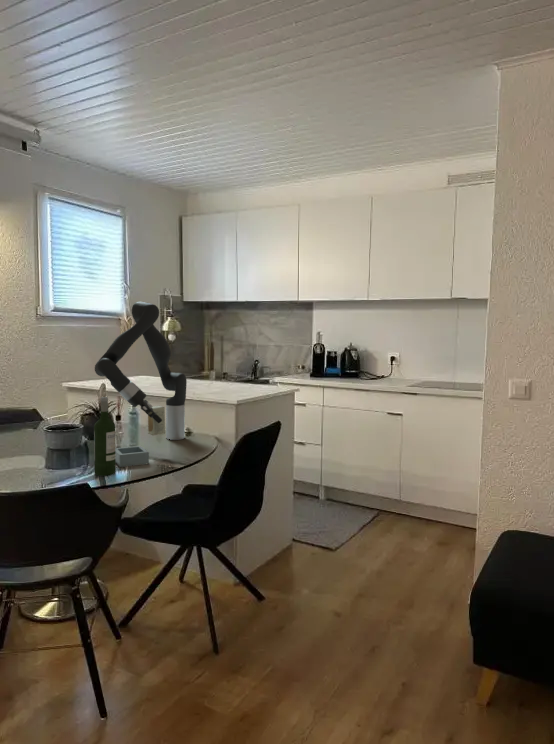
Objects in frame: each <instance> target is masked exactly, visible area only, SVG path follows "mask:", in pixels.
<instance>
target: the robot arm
mask: <svg viewBox="0 0 554 744" xmlns="http://www.w3.org/2000/svg"><path fill="white" fill-rule="evenodd" d="M131 314H132V318H133V320H134V322H135V324H134V325H133V326H131V327H130V328H129V329H126V330H125V331H124V332H121V334H119V335H118V336H117V337H116V338H115V339H114V340H113V342H112V343H111V344H110V345H109V347H108V349H107V350H106V352H105V353H104V354H103V355H102V356H101V357H100V358H99V359H98V361H97V362H96V363H95V365H94V373H95V374H96V375H97V376H100V377H105V378H106V380H108V381H109V382H110V385H111V386H112V387H113V388H114V389H115V391H117V392H118V393H119V395H120V396H121V397H122V398H123V399H125V401H127V402H128V403H129V405H130V406H132V407H133V408H136V407H138V406H140V409H141V410H142V411H143V412H144V413H145V414H146V415H147V416H148V415H149V416H150V417H151V418H153V419H154V420H155V421H156V422H158V423H160V422H161V421H162V419H161V418H160V417H159V416H158V415H157V414H156V413H155V412H154V411H153V408H152V407H153V406H154V405H152V404H151V403H150V402H149V401H148V400H147V399H146V397H147V394H146V393H145V392H144V391H143V390H142V389H141V388H140V387H139V386H138V385H137V384H136V383H134V382H132V380H131V379H129V378H128V377H127V376H126V375H125V374H124V373H123V372H122V370H121V369H120V367H118V364H117V363H118V362H119V361H120V360H121V359H122V358H123V357H124V356H125V355H126V353H127V352H128V351H129V350H130V348H131V347H132V346H133V345H134V343H135V342H136V341H137V340H138V339H139V338H141V336H143V338H144V341H145V343H146V346H147V348H148V351H149V353H150V355H151V356H152V359H153V361H154V364H155V365H156V368H157V370H158V374H159V378H160V381H161V383H162V386H163V387H164V389H165V390H166V391H172V392H174V395H173V396H171V397H167V398H166V401H165V439H166V438H167V439H166V440H169V439H170V441H177V440H179V441H180V440H183V439H185V436H186V435H185V434H186V433H185V432H186V431H185V429H186V427H185V426H186V424H185V423H186V422H185V417H186V415H185V414H186V411H185V410H186V409H185V406H186V398H187V395H186V394H187V385H188V383H187V377H186V375H185V373H182V372H172V371H171V370H170V366H169V363H170V359H171V356H172V350H171V348H170V345H169V343H168V341H167V339H166V337H165V336H164V335H163V334H162V333H161V331H159V330H158V328H156V326H155V325H154V324H155V323H156V322H157V320H158V318H159V316H160V309H159V307H158V306H157V305H156V304H153V303H149V302H144V301H136V302H134V303H133V305H132V306H131ZM151 412H152V414H150V413H151Z"/></svg>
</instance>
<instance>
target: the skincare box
mask: <svg viewBox="0 0 554 744" xmlns="http://www.w3.org/2000/svg"><path fill="white" fill-rule="evenodd" d="M152 406H153V407H152V408H153V411H154V412H155V413H156V414H157V415H158V416H159V417H160V418H161V419H162V421H161V422H160V423H158V422H156V421H155V420H154V419H153V418H151V417H150V416H149V415H148V414H147V419H148V420H147V424H148V425H147V426H148V430H147V431H148V433H147V434H149V435H150V436H158V435H163V434H166V406H162V405H152ZM150 414H152V412H151V413H150Z"/></svg>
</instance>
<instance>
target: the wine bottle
mask: <svg viewBox="0 0 554 744" xmlns="http://www.w3.org/2000/svg"><path fill="white" fill-rule="evenodd" d="M109 416H110V415H109V397H108V396H101V397H100V417H99V419H98V420H97V421H96V422H95V423H94V425H93V435H94V436H93V441H94V444H93V449H94V452H93V453H94V456H93V457H94V459H93V460H94V461H93V462H94V465H93V466H94V475H95V476H99V477H100V476H101V477H105V476H112V475H115V474H116V471H117V470H116V468H117V467H116V465H117V464H116V463H115V448H116V425H115V422H114V421H113V420H112V419H110V417H109Z"/></svg>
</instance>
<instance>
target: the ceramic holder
mask: <svg viewBox="0 0 554 744" xmlns="http://www.w3.org/2000/svg"><path fill="white" fill-rule="evenodd" d="M149 454H150V452H149V451H148V449H146V448H144V446H142V445H134V446H125V447H124V446H123V447H115V463H116V465H117V466H118V468H123V467H133V466H139V465H138V464H142V465H147V464H146V463H150V462H149V461H150V458H149V457H150V455H149ZM132 465H133V466H132Z"/></svg>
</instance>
